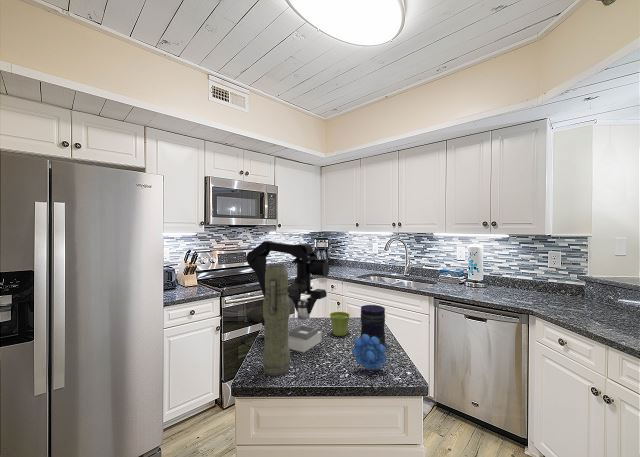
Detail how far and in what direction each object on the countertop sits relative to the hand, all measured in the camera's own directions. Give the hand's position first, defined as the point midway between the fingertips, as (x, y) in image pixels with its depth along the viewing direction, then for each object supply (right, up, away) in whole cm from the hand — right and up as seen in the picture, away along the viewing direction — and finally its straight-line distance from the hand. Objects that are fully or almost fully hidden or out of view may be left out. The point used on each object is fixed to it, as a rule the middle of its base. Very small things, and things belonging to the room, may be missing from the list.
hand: (303, 312), depth 116 cm
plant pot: (+16, -13, +12) cm, 24 cm away
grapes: (+23, -13, -22) cm, 35 cm away
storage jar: (+28, -13, 0) cm, 31 cm away
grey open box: (0, -13, 0) cm, 13 cm away
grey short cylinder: (0, -2, 0) cm, 2 cm away
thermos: (-8, -13, -21) cm, 26 cm away
